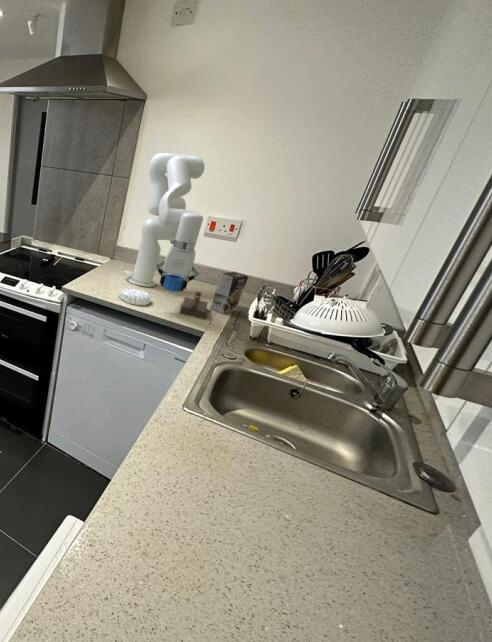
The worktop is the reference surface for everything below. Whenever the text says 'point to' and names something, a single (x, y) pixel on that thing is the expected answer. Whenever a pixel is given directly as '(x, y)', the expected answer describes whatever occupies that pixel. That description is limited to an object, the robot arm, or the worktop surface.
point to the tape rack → (194, 306)
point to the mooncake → (135, 296)
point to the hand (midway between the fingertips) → (172, 287)
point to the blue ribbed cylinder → (173, 282)
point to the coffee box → (229, 292)
